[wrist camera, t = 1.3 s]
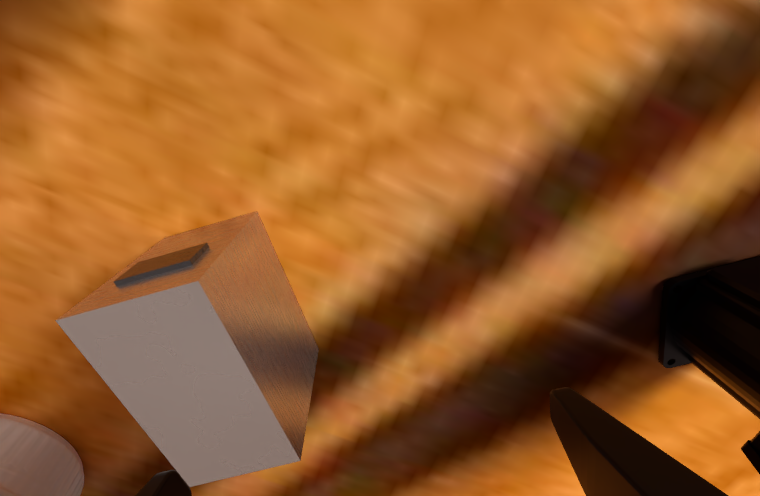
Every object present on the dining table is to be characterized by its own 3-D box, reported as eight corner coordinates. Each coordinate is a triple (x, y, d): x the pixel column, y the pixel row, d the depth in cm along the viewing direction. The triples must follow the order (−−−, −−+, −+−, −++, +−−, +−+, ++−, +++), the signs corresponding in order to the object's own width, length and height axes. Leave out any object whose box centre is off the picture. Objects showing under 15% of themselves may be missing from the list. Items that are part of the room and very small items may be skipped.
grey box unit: (320, 352, 21) (302, 465, 15) (242, 372, 22) (193, 491, 15) (255, 207, 18) (195, 275, 11) (162, 234, 18) (51, 315, 11)
